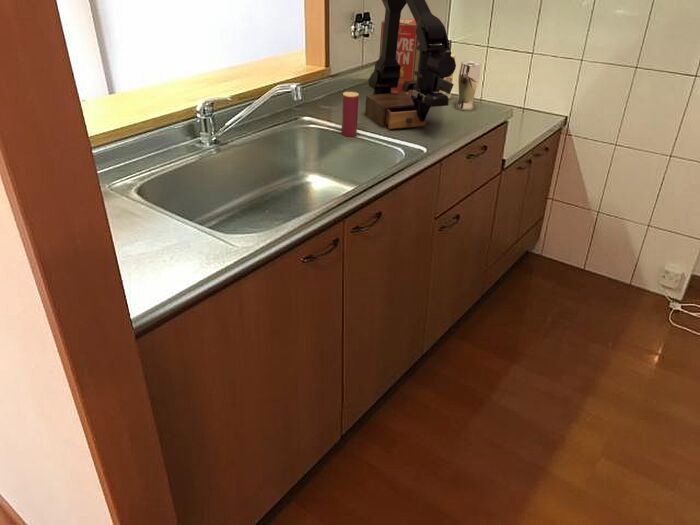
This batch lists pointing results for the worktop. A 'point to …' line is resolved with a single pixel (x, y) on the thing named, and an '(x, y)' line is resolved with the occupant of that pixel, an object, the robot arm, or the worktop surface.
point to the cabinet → (385, 105)
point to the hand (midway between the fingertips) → (421, 121)
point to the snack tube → (350, 114)
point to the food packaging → (405, 53)
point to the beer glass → (468, 84)
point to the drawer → (402, 118)
